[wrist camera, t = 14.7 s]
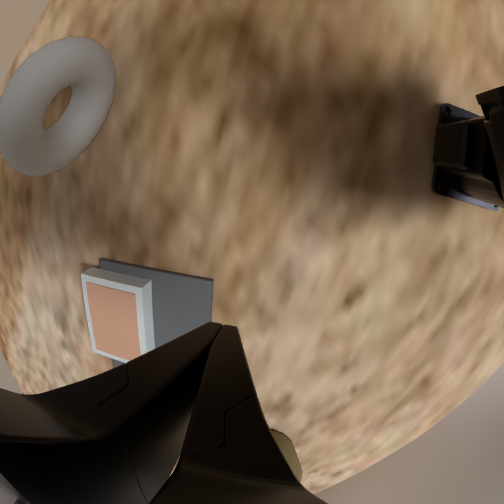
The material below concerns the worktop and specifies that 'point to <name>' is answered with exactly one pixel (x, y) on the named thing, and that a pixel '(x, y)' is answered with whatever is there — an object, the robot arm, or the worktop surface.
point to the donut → (42, 93)
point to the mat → (170, 300)
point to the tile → (118, 313)
